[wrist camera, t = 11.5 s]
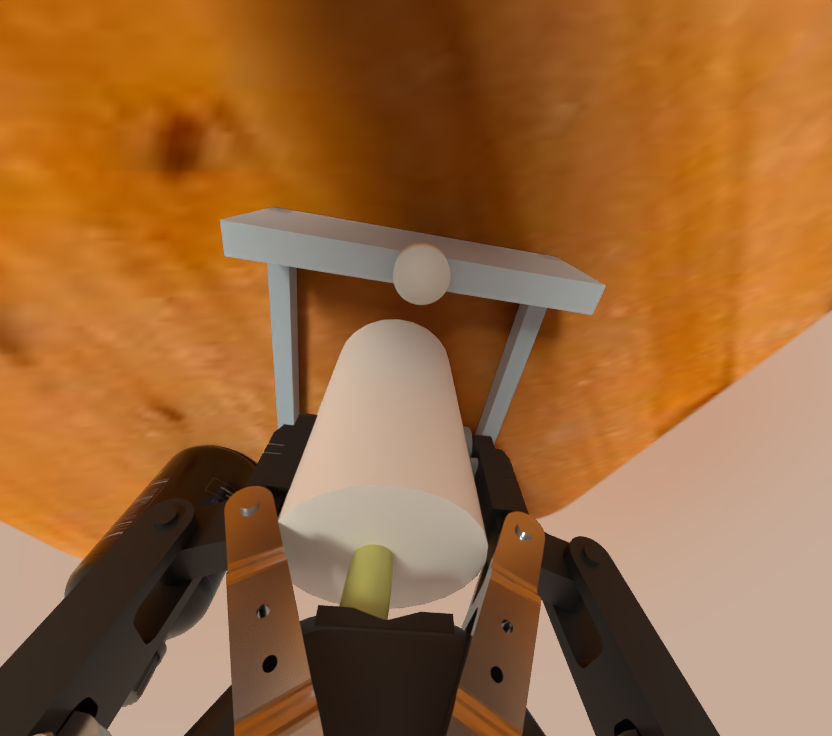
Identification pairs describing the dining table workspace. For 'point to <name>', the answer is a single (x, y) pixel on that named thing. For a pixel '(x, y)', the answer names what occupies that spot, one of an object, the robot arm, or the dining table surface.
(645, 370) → the dining table surface
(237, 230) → the holder
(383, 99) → the dining table surface
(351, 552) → the candle
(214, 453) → the supplement bottle
